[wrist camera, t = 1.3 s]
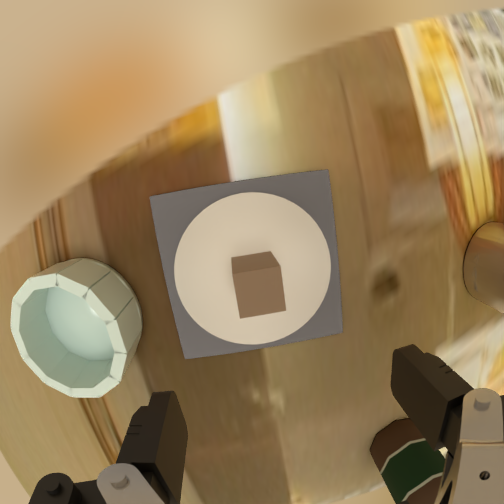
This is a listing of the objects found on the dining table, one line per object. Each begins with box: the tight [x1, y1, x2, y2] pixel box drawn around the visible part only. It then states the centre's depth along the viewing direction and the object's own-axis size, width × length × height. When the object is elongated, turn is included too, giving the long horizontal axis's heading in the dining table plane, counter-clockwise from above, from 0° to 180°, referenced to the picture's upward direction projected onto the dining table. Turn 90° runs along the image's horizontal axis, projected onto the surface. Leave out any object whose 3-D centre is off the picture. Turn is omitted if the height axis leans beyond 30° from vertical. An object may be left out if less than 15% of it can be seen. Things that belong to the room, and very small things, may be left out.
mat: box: [150, 170, 343, 359], centre depth 28 cm, size 15×15×1 cm
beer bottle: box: [370, 418, 445, 504], centre depth 22 cm, size 8×8×24 cm
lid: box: [174, 192, 331, 344], centre depth 24 cm, size 13×13×6 cm
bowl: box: [11, 258, 143, 397], centre depth 25 cm, size 11×11×6 cm
